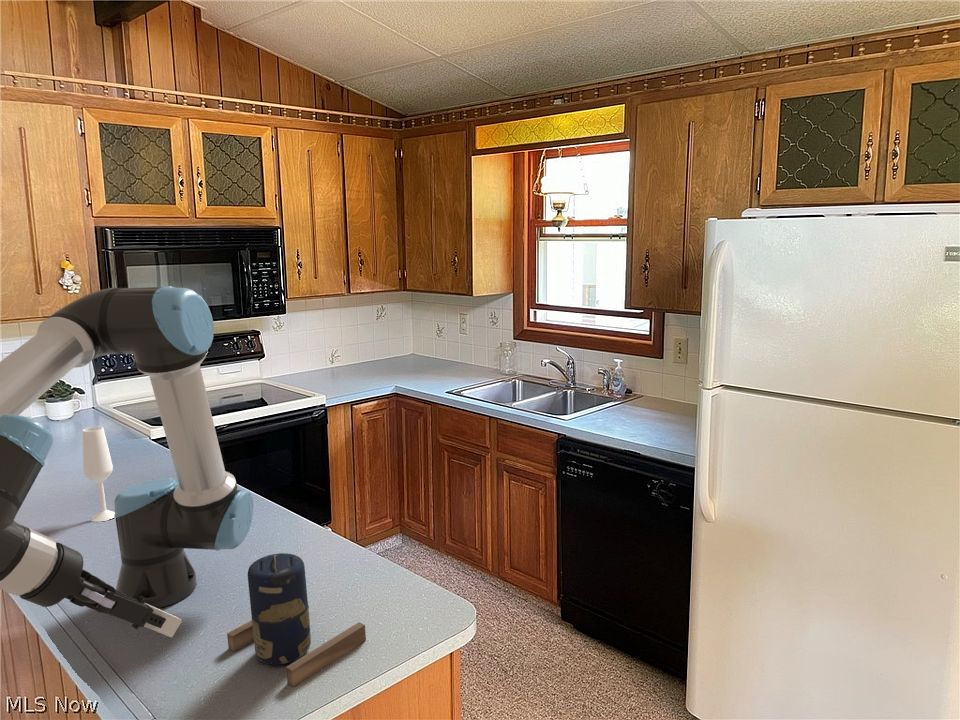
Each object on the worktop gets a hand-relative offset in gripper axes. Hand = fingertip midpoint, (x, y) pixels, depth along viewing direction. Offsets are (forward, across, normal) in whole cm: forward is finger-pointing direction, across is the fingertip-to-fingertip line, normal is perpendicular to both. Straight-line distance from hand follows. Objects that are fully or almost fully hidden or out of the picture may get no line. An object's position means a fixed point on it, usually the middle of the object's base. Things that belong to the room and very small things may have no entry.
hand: (174, 627), depth 106 cm
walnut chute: (+26, 0, +5) cm, 26 cm away
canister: (+24, 0, +3) cm, 24 cm away
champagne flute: (+30, -88, +10) cm, 94 cm away
